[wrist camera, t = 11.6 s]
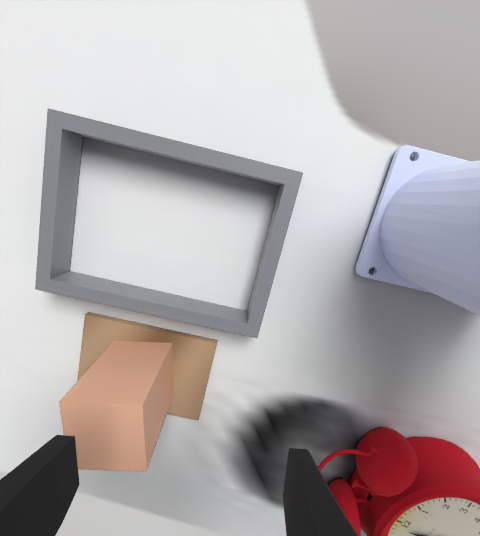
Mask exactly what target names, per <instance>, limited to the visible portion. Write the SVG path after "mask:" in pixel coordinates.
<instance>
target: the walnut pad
mask: <svg viewBox="0 0 480 536" xmlns="http://www.w3.org/2000/svg"><path fill="white" fill-rule="evenodd" d="M113 341H129V342H159V343H172V351H173V389H174V394H173V397H172V400H171V403H170V405H169V408H168V411H167V414H171V415H176V416H181V417H185V418H190V419H195V420H199V416H200V411H201V407H202V403H203V399H204V395H205V391H206V386H207V382H208V378H209V374H210V370H211V366H212V362H213V357H214V353H215V349H216V345H217V340H213V339H209V338H204V337H200V336H195V335H190V334H186V333H181V332H177V331H172V330H168V329H163V328H158V327H154V326H149V325H145V324H140V323H136V322H131V321H126V320H122V319H117V318H113V317H108V316H104V315H99V314H95V313H90V312H88V313H86V314H85V320H84V329H83V337H82V346H81V354H80V363H79V372H78V380H79V379H80V378H81V377H82V376H83V375H84V374H85V373H86V371H87V370H88V369H89V368H90V367H91V366H92V365H93V364H94V363H95V361H96V360H97V359H98V358H99V357H100V356H101V355H102V354H103V352H104V351H105V350H106V349H107V348H108V347H109V346H110V345H111V344H112V342H113ZM78 380H77V382H78Z"/></svg>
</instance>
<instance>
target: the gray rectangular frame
mask: <svg viewBox="0 0 480 536" xmlns="http://www.w3.org/2000/svg"><path fill="white" fill-rule="evenodd" d="M83 137H86V138H90V139H94V140H98V141H102V142H106V143H110V144H114V145H118V146H122V147H126V148H130V149H134V150H138V151H142V152H146V153H150V154H154V155H158V156H162V157H166V158H170V159H174V160H178V161H182V162H186V163H190V164H195V165H199V166H203V167H207V168H211V169H215V170H219V171H223V172H227V173H231V174H235V175H239V176H243V177H247V178H251V179H255V180H259V181H263V182H267V183H271V184H275V185H279V186H280V187H279V191H278V195H277V199H276V203H275V207H274V210H273V214H272V218H271V222H270V226H269V230H268V233H267V237H266V241H265V245H264V249H263V253H262V256H261V260H260V264H259V268H258V272H257V275H256V279H255V283H254V287H253V291H252V295H251V298H250V302H249V306H248V310H247V311H244V310H240V309H235V308H231V307H226V306H222V305H218V304H213V303H209V302H204V301H200V300H195V299H191V298H186V297H182V296H178V295H173V294H169V293H164V292H160V291H155V290H151V289H147V288H142V287H138V286H133V285H129V284H124V283H120V282H115V281H111V280H107V279H102V278H98V277H93V276H89V275H84V274H80V273H76V272H71V271H70V263H71V253H72V243H73V232H74V222H75V212H76V202H77V192H78V181H79V171H80V161H81V151H82V141H83ZM302 175H303V173H302V172H298V171H294V170H290V169H286V168H282V167H278V166H274V165H270V164H266V163H263V162H259V161H255V160H251V159H247V158H243V157H239V156H235V155H231V154H227V153H223V152H219V151H215V150H211V149H207V148H203V147H199V146H195V145H191V144H187V143H183V142H179V141H175V140H171V139H167V138H163V137H159V136H155V135H151V134H147V133H144V132H140V131H136V130H132V129H128V128H124V127H120V126H116V125H112V124H108V123H104V122H100V121H96V120H92V119H88V118H84V117H80V116H76V115H72V114H68V113H64V112H60V111H56V110H52V109H48V113H47V127H46V142H45V156H44V171H43V185H42V200H41V214H40V228H39V243H38V257H37V272H36V286H35V289H37V290H41V291H46V292H50V293H55V294H59V295H64V296H68V297H73V298H77V299H82V300H86V301H91V302H95V303H100V304H104V305H109V306H113V307H118V308H122V309H127V310H132V311H136V312H141V313H145V314H150V315H154V316H159V317H163V318H168V319H172V320H177V321H181V322H186V323H190V324H195V325H199V326H204V327H208V328H213V329H218V330H222V331H227V332H231V333H236V334H240V335H245V336H249V337H254V338H257V337H258V334H259V330H260V327H261V323H262V319H263V316H264V312H265V309H266V305H267V301H268V298H269V294H270V290H271V287H272V283H273V280H274V276H275V272H276V269H277V265H278V262H279V258H280V254H281V251H282V247H283V244H284V240H285V236H286V233H287V229H288V225H289V222H290V218H291V215H292V211H293V207H294V204H295V200H296V197H297V193H298V189H299V186H300V182H301V179H302Z"/></svg>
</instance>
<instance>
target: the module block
mask: <svg viewBox="0 0 480 536" xmlns="http://www.w3.org/2000/svg"><path fill="white" fill-rule="evenodd" d="M173 394H174V389H173V351H172V343H159V342H129V341H113V342H112V344H111V345H110V346H109V347H108V348H107V349H106V350H105V351H104V352H103V354H102V355H101V356H100V357H99V358H98V359H97V360H96V361H95V363H94V364H93V365H92V366H91V367H90V368H89V369H88V370H87V371H86V373H85V374H84V375H83V376H82V377H81V378H80V379H79V380H78V382H77V383H76V384H75V385H74V386H73V387H72V388H71V389H70V390H69V392H68V393H67V394H66V395H65V396H64V397H63V398H62V399H61V401H60V402H59V403H60V411H61V418H62V425H63V433H64V435H65V436H75V442H76V453H77V464H78V469H88V470H118V471H147V469H148V466H149V463H150V460H151V457H152V454H153V451H154V448H155V446H156V443H157V440H158V437H159V434H160V431H161V428H162V426H163V423H164V420H165V417H166V414H167V411H168V408H169V405H170V403H171V400H172V397H173Z"/></svg>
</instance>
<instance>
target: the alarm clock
mask: <svg viewBox="0 0 480 536" xmlns="http://www.w3.org/2000/svg"><path fill="white" fill-rule="evenodd" d="M341 454H356V455H355V460H356V466H357V468H356V470H355V471H354V473H353V475H352V477H351V479H350V482H349V484H348V482H347V481H346V480H344V479H337V480H334V481H332V482H331V483H330V485H329V489H330V491H331V492H332V494H333V496H334V497H335V499H336V501H337V502H338V504H339V506H340V507H341V509H342V510H343V512H344V514H345V515H346V517H347V519H348V520H349V522H350V523H351V525H352V527H353V528H354V530H355V531H356V533H357V534H358V536H360V528H361V529H362V530H363V531H364V532H365V533H366V534H367V536H480V468H479V467H478V465H477V464H476V462H475V461H474V460H473V459H472V458H471V457H470V455H469V454H468V453H467V452H465V451H464V450H463V449H461V448H460V447H458V446H457V445H455V444H453V443H451V442H448V441H445V440H442V439H437V438H431V437H413V438H404V437H403V436H402V435H401V434H399V433H398V432H396V431H394V430H393V429H389V428H378V429H374V430H372V431H370V432H369V433H367V434H366V435H365V436H364V437H363V438H362V439H361V440H360V442H359V444H358V446H357V449H356V450H353V449H343V450H339V451H336V452H334V453H332V454H331V455H329V456H328V457H326V458H325V459H324V460H323V461H322V462H321V464H320V465H319V466H318V469H319V471H321V469H322V468H323V467H324V466H325V464H326V463H327V462H329V461H330V460H331V459H333V458H334V457H336V456H338V455H341Z"/></svg>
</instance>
